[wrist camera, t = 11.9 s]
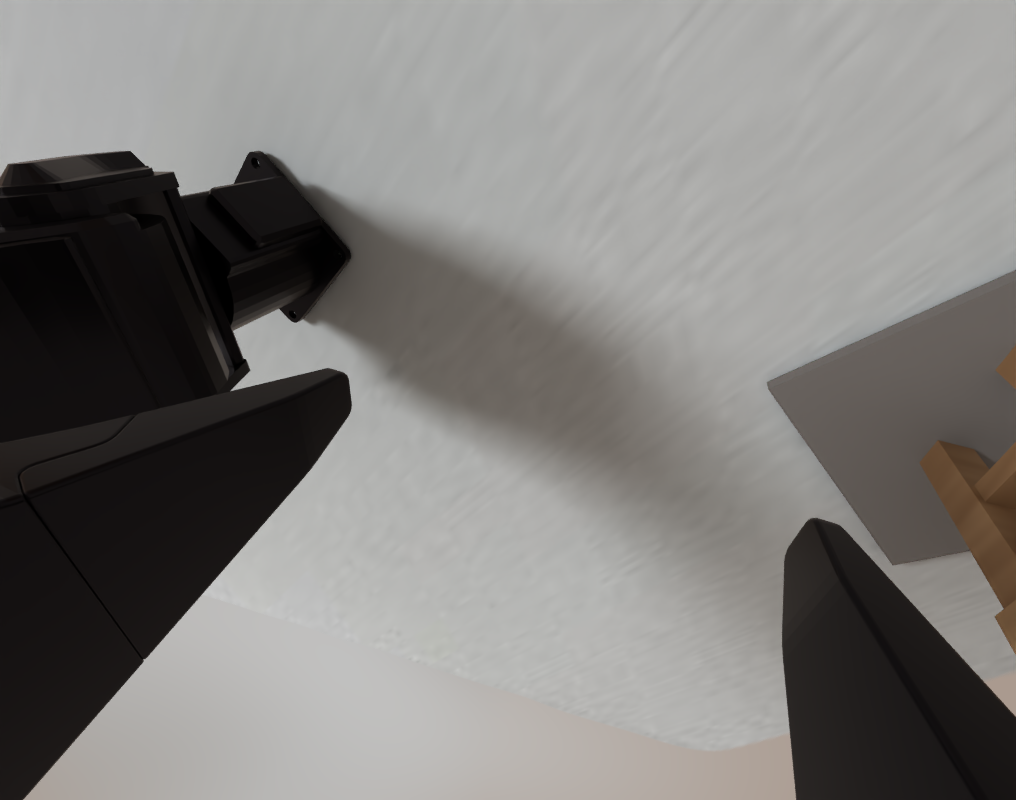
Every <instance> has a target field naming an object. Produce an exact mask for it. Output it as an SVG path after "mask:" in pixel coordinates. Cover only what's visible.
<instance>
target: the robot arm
mask: <svg viewBox="0 0 1016 800" xmlns="http://www.w3.org/2000/svg"><path fill="white" fill-rule="evenodd" d="M257 160H258V161H259V163H260V166H259V164H258V161H257ZM177 187H179V184H178V182H177V179H176V177H175V174H174V172H153V170H152V168H149V167H148V166H145V165H144V164H143V163H142V162H141V161H140V160H139V159H138V158H137V157H136V156H135V155H134V154H133V153H132V152H131V151H118V152H106V153H94V154H83V155H73V156H64V157H56V158H48V159H41V160H34V161H27V162H19V163H12V164H8V165H7V167H6V168H5V170H4V172H3V173H2V175H1V177H0V800H23V799H24V798H25V797H26V796H27V795H28V794H29V793H30V792H31V790H32V789H33V788H34V787H35V785H37V783H38V782H39V781H40V780H41V779H42V778H43V776H44V775H45V774H46V773H47V772H48V771H49V770H50V769H51V767H52V766H53V765H54V764H55V763H56V762H57V761H58V759H59V758H60V757H61V756H62V755H63V753H65V751H66V750H67V749H68V748H69V747H70V746H71V744H72V743H73V742H74V741H75V739H77V738H78V736H79V735H80V734H81V733H82V732H83V731H84V730H85V728H86V727H87V726H88V725H89V724H90V723H91V722H92V720H93V719H94V718H95V717H96V716H97V714H98V713H99V712H100V711H101V710H102V709H103V708H104V707H105V705H106V704H107V703H108V702H109V701H110V700H111V699H112V697H113V696H114V695H115V694H116V693H117V691H118V690H119V689H120V688H121V687H122V686H123V685H124V684H125V682H126V681H127V680H128V679H129V678H130V677H131V675H132V674H133V673H134V672H135V671H136V670H137V669H138V668H139V666H140V665H141V664H142V663H143V661H144V660H143V659H146V658H147V657H148V656H149V655H150V653H151V652H152V651H153V650H154V649H155V647H157V645H158V644H159V643H160V642H161V641H162V640H163V639H164V637H165V636H166V635H167V634H168V633H169V631H170V630H171V629H172V628H173V627H174V626H175V625H176V624H177V622H178V621H179V620H180V619H181V618H182V617H183V616H184V614H185V613H186V612H187V611H188V610H189V609H190V607H191V606H192V605H193V604H194V603H195V602H196V601H197V600H198V598H199V597H200V596H201V595H202V594H203V593H204V592H205V590H206V589H207V588H208V587H209V586H210V585H211V584H212V582H213V581H214V580H215V579H216V578H217V577H218V575H219V574H220V573H221V572H222V571H223V570H224V569H225V567H226V566H227V565H228V564H229V563H230V562H231V561H232V559H233V558H234V557H235V556H236V555H237V554H238V553H239V551H240V550H241V549H242V548H243V547H244V546H245V545H246V543H247V542H248V541H249V540H250V539H251V538H252V537H253V535H254V534H255V533H256V532H257V531H258V530H259V528H260V527H261V526H262V525H263V524H264V523H265V522H266V520H267V519H268V518H269V517H270V516H271V515H272V514H273V512H274V511H275V510H276V509H277V508H278V507H279V506H280V504H281V503H282V502H283V501H284V500H285V499H286V498H287V496H288V495H289V494H290V493H291V492H292V491H293V490H294V488H295V487H296V486H297V485H298V484H299V483H300V481H301V480H302V479H303V478H304V477H305V476H306V474H307V473H308V472H309V471H310V470H311V468H312V467H313V466H314V464H315V463H316V462H317V460H318V459H319V457H320V456H321V455H322V453H323V452H324V450H325V449H326V447H327V446H328V445H329V443H330V442H331V440H332V439H333V437H334V436H335V435H336V433H337V432H338V430H339V429H340V428H341V426H342V425H343V423H344V422H345V420H346V419H347V418H348V416H349V414H350V412H351V407H352V402H351V394H350V385H349V379H348V376H347V375H346V374H345V373H343V372H340V371H337V370H334V369H330V368H326V369H322V370H318V371H314V372H309V373H305V374H301V375H297V376H293V377H288V378H284V379H280V380H276V381H272V382H268V383H263V384H259V385H255V386H251V387H247V388H243V389H238V390H234V391H231V389H232V388H233V387H234V386H235V385H236V384H237V383H238V382H239V381H240V380H241V379H242V378H243V377H244V376H245V375H246V374H247V373H248V372H249V371H250V368H249V366H248V363H247V361H246V359H243V356H242V353H241V351H240V348H239V346H238V343H237V341H236V338H235V335H234V333H233V330H235V329H238V328H240V327H242V326H244V325H246V324H248V323H250V322H252V321H254V320H256V319H258V318H260V317H262V316H264V315H266V314H269V313H271V312H273V311H275V310H277V309H280V310H281V311H282V312H283V313H284V314H285V315H286V316H287V318H288V319H289V320H291V321H292V322H299V321H301V320H302V319H304V318H305V316H306V315H307V314H308V313H309V311H310V310H311V309H312V307H313V306H314V305H315V304H316V302H317V301H318V300H319V299H320V297H321V296H322V295H323V294H324V292H325V291H326V290H327V289H328V287H329V286H330V285H331V284H332V282H333V281H334V280H335V278H336V277H337V276H338V275H339V273H340V272H341V271H342V270H343V268H344V267H345V266H346V265H347V263H348V262H349V261H350V258H351V254H350V251H349V249H348V248H347V246H346V245H345V244H344V243H343V242H342V241H341V240H340V239H339V237H338V236H337V235H336V234H335V233H334V232H333V231H332V229H331V228H330V227H329V226H328V225H327V224H326V223H325V222H324V220H323V219H322V218H321V217H320V216H319V215H318V214H317V212H316V211H315V210H314V209H313V208H312V207H311V206H310V204H309V203H308V202H307V201H306V200H305V199H304V198H303V197H302V195H301V194H300V193H299V192H298V191H297V190H296V189H295V187H294V186H293V185H292V184H291V183H290V182H289V181H288V180H287V178H286V177H285V176H284V175H283V174H282V173H281V172H280V170H279V169H278V168H277V167H276V166H275V165H274V164H273V163H272V161H271V160H270V159H269V158H268V157H267V156H266V155H265V154H264V153H263V152H261V151H254V152H250V153H249V154H248V155H247V157H246V159H245V161H244V163H243V165H242V168H241V170H240V172H239V174H238V176H237V178H236V180H235V182H234V184H231V185H225V186H220V187H214V188H212V189H211V190H210V191H206V192H200V193H195V194H189V195H184V196H180V194H179V191H178V189H177ZM338 251H339V252H340V253H341V256H342V258H341V257H340V256H339V254H338ZM294 312H295V313H294ZM782 650H783V664H784V674H785V685H786V695H787V706H788V717H789V727H790V738H791V748H792V759H793V770H794V780H795V791H796V800H1016V717H1015V716H1014V714H1013V713H1012V712H1011V711H1010V710H1009V709H1008V708H1007V707H1006V706H1005V705H1004V703H1003V702H1002V701H1001V700H1000V699H999V698H998V697H997V696H996V695H995V694H994V693H993V691H992V690H991V689H990V688H989V687H988V686H987V685H986V684H985V683H984V682H983V680H982V679H981V678H980V677H979V676H978V675H977V674H976V673H975V672H974V671H973V670H972V668H971V667H970V666H969V665H968V664H967V663H966V662H965V661H964V660H963V659H962V658H961V656H960V655H959V654H958V653H957V652H956V651H955V650H954V649H953V648H952V647H951V646H950V644H949V643H948V642H947V641H946V640H945V639H944V638H943V637H942V636H941V635H940V633H939V632H938V631H937V630H936V629H935V628H934V627H933V626H932V625H931V624H930V623H929V621H928V620H927V619H926V618H925V617H924V616H923V615H922V614H921V613H920V612H919V611H918V609H917V608H916V607H915V606H914V605H913V604H912V603H911V602H910V601H909V600H908V599H907V597H906V596H905V595H904V594H903V593H902V592H901V591H900V590H899V589H898V588H897V587H896V585H895V584H894V583H893V582H892V581H891V580H890V579H889V578H888V577H887V576H886V574H885V573H884V572H883V571H882V570H881V569H880V568H879V567H878V566H877V565H876V564H875V562H874V561H873V560H872V559H871V558H870V557H869V556H868V555H867V554H866V553H865V552H864V550H863V549H862V548H861V547H860V546H859V545H858V544H857V543H856V542H855V541H854V540H853V538H852V537H851V536H850V535H849V534H848V533H847V532H846V531H845V530H844V529H843V528H842V527H841V526H840V525H838V524H835V523H832V522H828V521H825V520H822V519H818V518H811V519H809V520H808V521H807V522H806V523H805V525H804V526H803V527H802V529H801V530H800V532H799V533H798V534H797V536H796V537H795V539H794V540H793V541H792V543H791V544H790V546H789V547H788V549H787V551H786V555H785V561H784V590H783V621H782Z"/></svg>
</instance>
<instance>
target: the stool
mask: <svg viewBox="0 0 1016 800" xmlns="http://www.w3.org/2000/svg"><path fill="white" fill-rule="evenodd" d="M996 371H997V372H998V373H999V374H1000V375H1001V376H1002V377H1003V378H1004V379H1005V380H1006V381H1007V382H1008V383H1009V384H1011V385H1012V386H1013V387H1014V388H1015V389H1016V345H1015V346H1014V348H1013V349H1012V350H1011V351H1010V353H1009V354H1008V355H1007V356H1006V357H1005V359H1004V360H1003V361H1002V362H1001V364H1000V365H999V366H998V367H997V368H996ZM920 465H921V467H922V468H923V470H924V472H925V473H926V475H927V477H928V479H929V480H930V482H931V484H932V485H933V487H934V489H935V491H936V492H937V494H938V496H939V498H940V499H941V501H942V503H943V504H944V506H945V508H946V510H947V511H948V513H949V515H950V517H951V518H952V520H953V522H954V523H955V525H956V527H957V529H958V530H959V532H960V534H961V536H962V537H963V539H964V541H965V542H966V544H967V546H968V548H969V549H970V551H971V553H972V555H973V556H974V558H975V560H976V561H977V563H978V565H979V567H980V568H981V570H982V572H983V573H984V575H985V577H986V579H987V580H988V582H989V584H990V586H991V587H992V589H993V591H994V592H995V594H996V596H997V598H998V599H999V601H1000V603H1001V605H1002V606H1003V608H1004V609H1003V610H1002V611H1001V612H1000V613H998V614H997V615H996V616H995V618H996V620H997V622H998V624H999V625H1000V627H1001V629H1002V631H1003V633H1004V635H1005V636H1006V638H1007V640H1008V642H1009V644H1010V645H1011V647H1012V649H1013V651H1014V653H1015V654H1016V442H1015V443H1014V444H1013V445H1012V446H1011V447H1010V448H1009V449H1008V451H1007V452H1006V453H1005V454H1004V455H1003V456H1002V457H1001V458H1000V459H999V460H998V461H997V462H996V463H995V464H994V465H993V466H992V467H991V468H990V470H989V468H988V467H987V466H986V464H985V463H984V462H983V460H982V459H981V458H980V456H979V455H978V454H977V452H976V451H975V450H974V449H972V448H968V447H964V446H960V445H956V444H952V443H948V442H944V441H940V440H938V441H937V442H936V443H935V444H934V445H933V447H932V448H931V449H930V450H929V452H928V453H927V454H926V455H925V456H924V458H923V459H922V460H921V461H920Z"/></svg>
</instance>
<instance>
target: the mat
mask: <svg viewBox="0 0 1016 800" xmlns="http://www.w3.org/2000/svg"><path fill="white" fill-rule="evenodd" d="M1015 345H1016V270H1015V271H1013V272H1011V273H1009V274H1006V275H1004V276H1002V277H1000V278H998V279H995V280H993V281H991V282H989V283H986V284H984V285H982V286H980V287H978V288H975V289H973V290H971V291H969V292H966V293H964V294H962V295H960V296H958V297H955V298H953V299H951V300H949V301H946V302H944V303H942V304H940V305H938V306H935V307H933V308H931V309H929V310H926V311H924V312H922V313H920V314H918V315H915V316H913V317H911V318H909V319H907V320H904V321H902V322H900V323H898V324H895V325H893V326H891V327H889V328H887V329H884V330H882V331H880V332H878V333H875V334H873V335H871V336H869V337H867V338H864V339H862V340H860V341H858V342H855V343H853V344H851V345H849V346H847V347H844V348H842V349H840V350H838V351H835V352H833V353H831V354H829V355H827V356H824V357H822V358H820V359H818V360H815V361H813V362H811V363H809V364H807V365H804V366H802V367H800V368H798V369H795V370H793V371H791V372H789V373H787V374H784V375H782V376H780V377H778V378H775V379H773V380H771V381H769V382H767V385H768V389H769V391H770V392H771V394H772V395H773V396H774V398H775V399H776V401H777V402H778V404H779V405H780V406H781V408H782V409H783V411H784V412H785V413H786V415H787V416H788V418H789V419H790V421H791V422H792V423H793V425H794V426H795V428H796V429H797V430H798V432H799V433H800V435H801V436H802V438H803V439H804V440H805V442H806V443H807V445H808V446H809V447H810V449H811V450H812V452H813V453H814V455H815V456H816V457H817V459H818V460H819V462H820V463H821V464H822V466H823V467H824V469H825V470H826V471H827V473H828V474H829V476H830V477H831V479H832V480H833V481H834V483H835V484H836V486H837V487H838V488H839V490H840V491H841V493H842V494H843V496H844V497H845V498H846V500H847V501H848V503H849V504H850V505H851V507H852V508H853V510H854V511H855V513H856V514H857V515H858V517H859V518H860V520H861V521H862V522H863V524H864V525H865V527H866V528H867V530H868V531H869V532H870V534H871V535H872V537H873V538H874V539H875V541H876V542H877V544H878V545H879V547H880V548H881V549H882V551H883V552H884V554H885V555H886V556H887V558H888V559H889V561H890V562H891V563H892V565H897V564H902V563H908V562H913V561H918V560H923V559H929V558H934V557H939V556H944V555H950V554H955V553H960V552H965V551H970V549H969V548H968V546H967V544H966V542H965V541H964V539H963V537H962V536H961V534H960V532H959V530H958V529H957V527H956V525H955V523H954V522H953V520H952V518H951V517H950V515H949V513H948V511H947V510H946V508H945V506H944V504H943V503H942V501H941V499H940V498H939V496H938V494H937V492H936V491H935V489H934V487H933V485H932V484H931V482H930V480H929V479H928V477H927V475H926V473H925V472H924V470H923V468H922V467H921V465H920V461H921V460H922V459H923V458H924V456H925V455H926V454H927V453H928V452H929V450H930V449H931V448H932V447H933V445H934V444H935V443H936V442H937V441H938V440H940V441H944V442H948V443H952V444H956V445H960V446H964V447H968V448H972V449H974V450H975V451H976V452H977V454H978V455H979V456H980V458H981V459H982V460H983V462H984V463H985V464H986V466H987V467H988V468H989V470H990V468H991V467H992V466H993V465H994V464H995V463H996V462H997V461H998V460H999V459H1000V458H1001V457H1002V456H1003V455H1004V454H1005V453H1006V452H1007V451H1008V449H1009V448H1010V447H1011V446H1012V445H1013V444H1014V443H1015V442H1016V389H1015V388H1014V387H1013V386H1012V385H1011V384H1009V383H1008V382H1007V381H1006V380H1005V379H1004V378H1003V377H1002V376H1001V375H1000V374H999V373H998V372H997V371H996V368H997V367H998V366H999V365H1000V364H1001V362H1002V361H1003V360H1004V359H1005V357H1006V356H1007V355H1008V354H1009V353H1010V351H1011V350H1012V349H1013V348H1014V346H1015Z"/></svg>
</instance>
